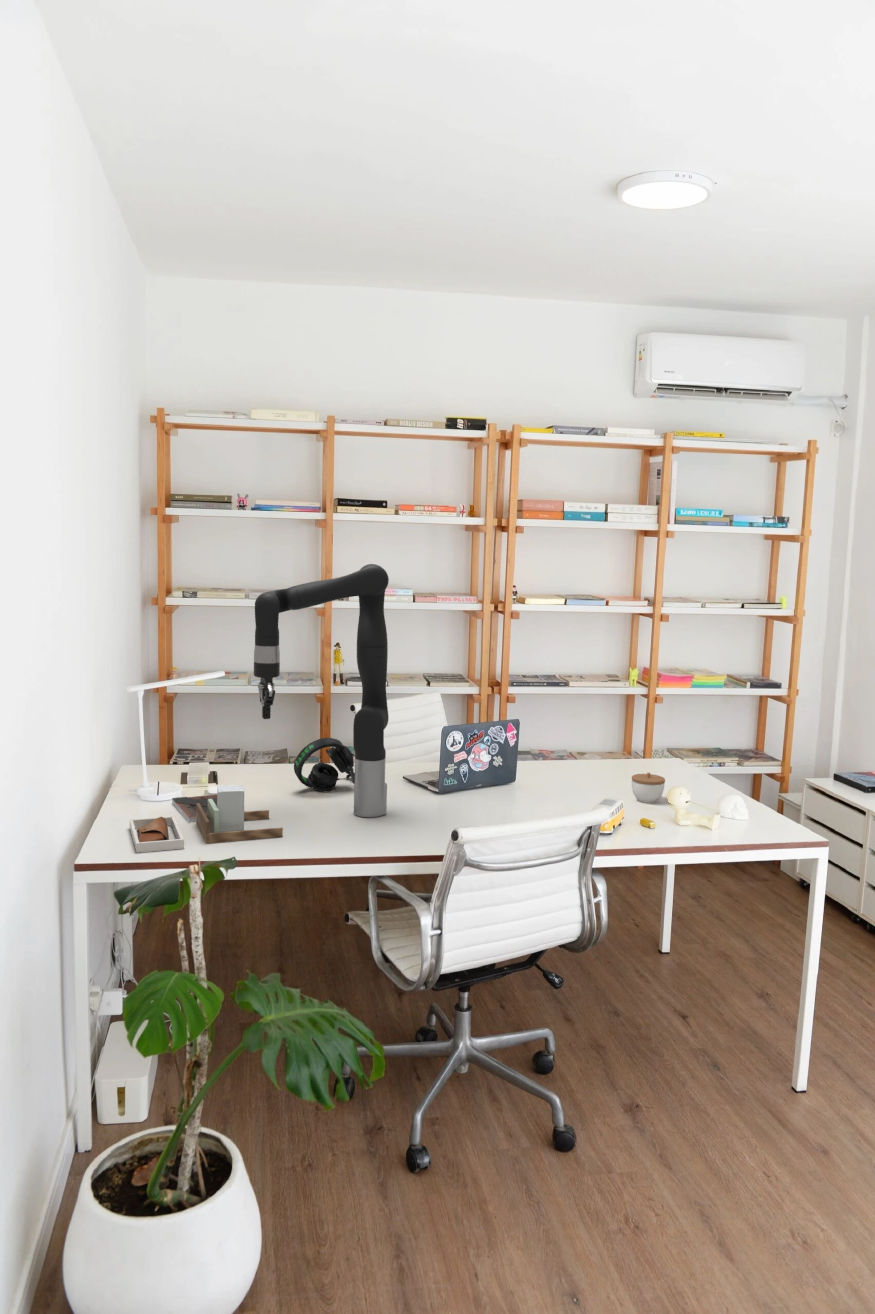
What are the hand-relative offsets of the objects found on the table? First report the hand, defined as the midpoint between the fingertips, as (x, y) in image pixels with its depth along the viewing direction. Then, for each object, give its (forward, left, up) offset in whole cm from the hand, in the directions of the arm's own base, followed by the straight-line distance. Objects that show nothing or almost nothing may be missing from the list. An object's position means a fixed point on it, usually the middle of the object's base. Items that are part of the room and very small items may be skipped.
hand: (266, 718), depth 285 cm
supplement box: (+13, +15, -29) cm, 35 cm away
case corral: (+33, +15, -29) cm, 46 cm away
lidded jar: (-123, +18, -29) cm, 128 cm away
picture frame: (+16, -8, -30) cm, 35 cm away
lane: (+10, +14, -29) cm, 34 cm away
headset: (-26, -24, -29) cm, 46 cm away
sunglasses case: (+34, +15, -30) cm, 47 cm away
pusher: (+18, +14, -29) cm, 37 cm away
